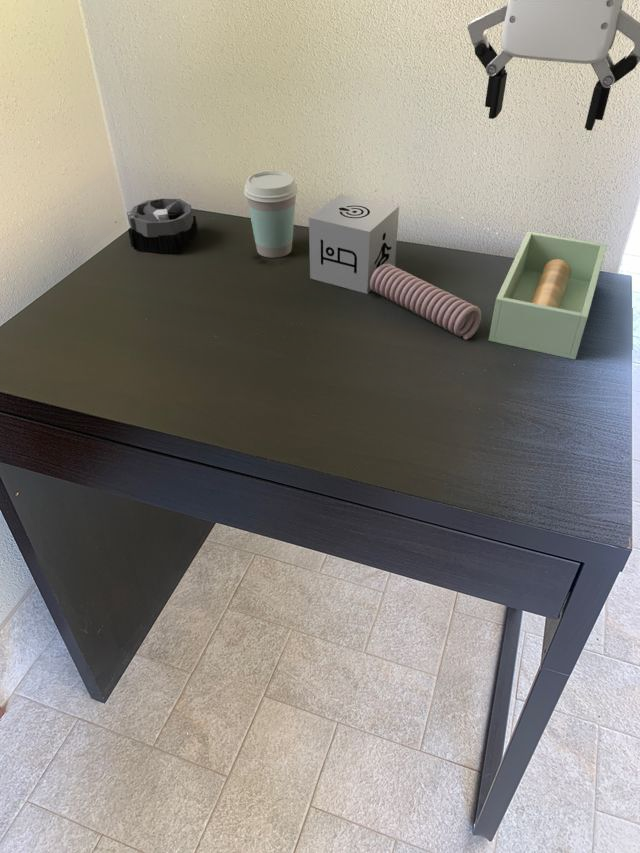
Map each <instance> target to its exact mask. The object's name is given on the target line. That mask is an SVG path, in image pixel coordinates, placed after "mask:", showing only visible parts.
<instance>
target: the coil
mask: <svg viewBox="0 0 640 853" xmlns="http://www.w3.org/2000/svg"><path fill="white" fill-rule="evenodd" d="M383 277H384V278H383ZM370 287H371V289H372V290H371V291H372V292H374V293H377V295H380V296H382V297H383V298H386V299H387V300H389V301H391V302H393V303H395V304H397V305H398V306H401V307H402V308H404V309H407V310H408V311H409V312H412V313H413V314H416V315H417V316H419V317H422V318H423V319H425V320H427V321H428V322H431V323H433V325H438V326H439V328H443V329H444V330H446V331H449V332H450V333H451V334H454V335H455V336H457V337H462V338H463V340H468V339H471V338H473V336H474V335H475V334H476V332H477V331H478V329H479V327H480V324H481V321H482V311H481V309H480V307H479V306H476V305H474V304H472V303H470V302H467V301H466V300H464V299H462V298H460V297H458V296H456V295H454V294H451V293H450V292H448V291H445V290H444V289H443V288H439V287H438V286H435V285H434V284H432V283H429V282H427V281H426V280H423V279H422V278H418V277H417V276H415V275H413V274H411V273H409V272H407V271H406V270H403V269H402V268H399V267H397V266H396V265H395V266H392V265H391V264H383V265H381V266H379V267H378V268H377V269H376V270H375V271H374V273H373V275H372V277H371V280H370Z"/></svg>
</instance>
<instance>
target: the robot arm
mask: <svg viewBox="0 0 640 853" xmlns="http://www.w3.org/2000/svg"><path fill="white" fill-rule="evenodd" d="M623 4H624V0H508V2H507V3H505V4H503V5H501V6H499V7H497V8H495V9H492V10H490V11H489V12H487V13H485V14H483V15H480V16H479V17H477V18H474V19H473V20H471V22H469V23H468V24H467V31H468V34H469V37H470V40H471V43H472V45H473V47H474V55H475V56H476V58H477V59H478V61H479V62H480V63H481V64H482V66H483V68H484V69H485V72H486V75H487V76H488V81H487V88H486V94H485V102H484V107H485V108H489V111H488V119H491V120H494V119H496V118H497V117H498V116H499V115H500V114H501V112H502V109H503V104H504V98H505V91H506V85H507V78H508V72H507V69H506V65H507V64H508V63H509V62H510V61H511V60H512V59H513V58H517V59H525V60H536V61H546V62H556V63H569V64H579V65H580V64H582V65H590V66H591V67H592V69H593V71H594V73H595V75H596V77H597V81H596V83H595V86H594V88H593V91H592V94H591V100H590V103H589V107H588V112H587V116H586V120H585V123H584V124H585V125H584V129H585V130H586V131H590V132H592V131H593V129H594V126H595V124H596V120H598V121H603V119H604V116H605V112H606V108H607V104H608V100H609V97H610V92H611V89H612V87H613V86H614V85H615V83H617V82H618V81H620V80H621V79H622V78H624V77H625V76H627V75H628V74H629V73H631V72H632V71H634V69H636V68H637V65H638V64H639V63H640V22H639V21H638V20H637V19H635V18H634V17H632V16H631V15H630V14H629V13H627V12H626V11H625V10H624V9H623ZM502 23H503V28H502V34H501V49H502V50H501V51H500V52H499V53H497V52H496V50H495V49H494V48H493V46H492V44H491V43H490V42H489V40H488V35H487V30H488V29H491V28H493V27H495V26H497V25H499V24H502ZM617 32H620V33H621V34H622V35H624V36H625V37H627V38H628V39H629V40H630V41H632V42H633V44H634V45H633V47H632V48H631V49H630V51H629V52H628V53H627V55H625V56H624V57H623V58H621V59H620V60H619V61H617V62H616V63H615V62H614V61H613V59H612V57H611V55H610V53H609V52H610V50H611V49H612V48H613V45H614V42H615V39H616V35H617Z"/></svg>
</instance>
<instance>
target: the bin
mask: <svg viewBox="0 0 640 853" xmlns="http://www.w3.org/2000/svg"><path fill="white" fill-rule="evenodd" d="M607 245H608V244H606V243H599V242H595V241H594V242H593V241H587V240H582V239H577V238H576V239H575V238H570V237H563V236H557V235H552V234H546V233H542V232H541V233H540V232H534V231H530V230H529V231H526V233H525V236H524V237H523V240H522V242H521V245H520V246H519V249H518V251H517V253H516V255H515V257H514V259H513V261H512V264H511V265H510V268H509V270H508V273H507V275H506V277H505V279H504V281H503V283H502V285H501V287H500V290H499V292H498V294H497V296H496V298H495V302H494V309H493V313H492V318H491V319H492V320H491V323H490V330H489V335H488V341H490V342H493V343H498V344H502V345H507V346H511V347H514V348H515V347H516V348H521V349H525V350H528V351H534V352H538V353H543V354H548V355H551V356H556V357H560V358H565V359H570V360H574V361H575V360H576V359H577V356H578V352H579V348H580V346H581V342H582V339H583V335H584V332H585V328H586V324H587V321H588V318H589V314H590V310H591V307H592V303H593V298H594V296H595V292H596V287H597V284H598V280H599V276H600V273H601V268H602V265H603V261H604V258H605V253H606V251H607V250H606V249H607ZM555 259H560V260H563V261H565V262H567V263H568V264H569V266H570V268H571V275H570V278H569V281H568V284H567V287H566V290H565V293H564V297H563V300H562V303H561V306H560V309H559V308H554V307H549V306H544V305H539V304H534V303H531V300H532V297H533V295H534V292H535V290H536V287H537V285H538V282H539V279H540V277H541V274H542V272H543V269H544V267H545V265H546V264H547V263H548V262H549V261H551V260H555Z"/></svg>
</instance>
